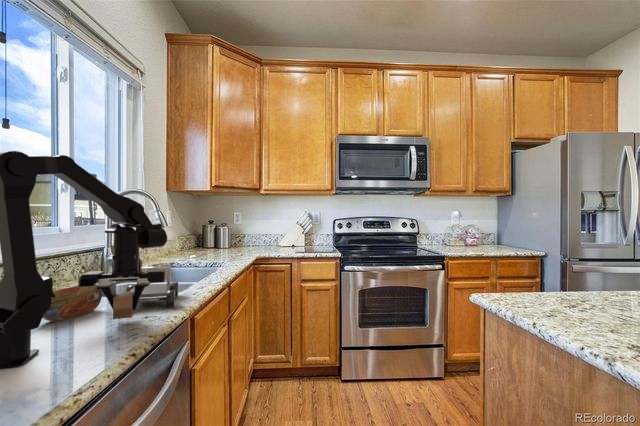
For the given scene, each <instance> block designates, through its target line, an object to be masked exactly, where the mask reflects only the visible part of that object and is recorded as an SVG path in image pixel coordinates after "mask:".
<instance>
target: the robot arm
mask: <svg viewBox="0 0 640 426" xmlns="http://www.w3.org/2000/svg"><path fill="white" fill-rule="evenodd" d="M42 175H53V176H55V177H56V178H57V179H60V180H61V181H62V182H63V183H65V184H67V186H70V187H71V188H73V189H74V190H75V191H78V192H79V193H80V194H82V195H83V196H85V197H86V198H87V199H89V200H90V201H92V202H94V203H95V204H96V205H98V206H99V207H100V208H101V210H102V211H103V213H104V215H105V216H106V217H107V218H108V219H110V220H111V221H112V222H113V223H112V224H111V225H110V226H109V227H107V228H106V229H105V231H104V233H105V234H113V246H112V247H113V250H112V251H113V252H112V253H113V254H112V259H111V260H112V263H111V269H112V272H111V273H106V274H105V271H104V270H100V271H99V270H98V271H96V270H95V271H94V270H93V271H87V272H84V273H83V274H81V275H80V276H79V277H78V283H77V285H78V286H79V287H85V286H94V285H97V286H98V287H97V289H100V290H101V293H103V294H104V296H105V297H106V298H107V301H108V303H109V304H110V307H111V309H112V310H113V298H114V296H115V295H117V282H123V281H124V282H127V281H136V285H135V291H134V300H133V310H135V309H136V310H137V306H138V304H139V303H140V302H139V299H141V298H140V296H141V294H142V292H143V290H144V288H145V287H147V286H149V285H151V284H163V283H165V282H166V281H167V270H165V269H151V270H150V271H148V272H143V271H142V267H143V260H142V259H141V258H140V249H143V250H144V249H153V248H162V247H164V246H165V245H166V243H167V241H168V235H167V232H166V230H165V229H164V228H163V224H162V223H152V221H151V220H150V218H149V217H148V215H147V213H146V212H145V207H144V206H143V205H142V203H140V202H138V201H137V200H134V199H133V198H130V197H127V196H124V195H121V194H119V193H117V192H115V190H112V189H111V188H110V187H109V186H107V185H106V184H105V183H103V182H102V181H101V180H99V179H98V178H97V177H95V176H94V175H92V174H91V173H90V172H88V171H87V169H84V168H83V167H82V166H80V165H79V164H78V163H77V162H76V161H75V160H74V159H73V157H70V156H68V155H65V154H61V155H50V156H49V155H46V156H45V155H44V156H43V155H38V156H37V155H36V156H35V155H34V156H32V155H31V156H29V155H28V154H27V153H24V152H22V151H17V150H11V151H10V150H8V151H1V152H0V253H1V261H2V269H3V275H2V278H1V280H0V369H5V368H14V367H20V366H23V365H25V363H27V362H28V361H30V360H31V359H32V358H33V357H34V356H35V355H37V354H38V353H39V352H40V350H39V348H37V349H31V348H32V347H31V346H32V345H31V344H32V342H31V340H32V330H34V329H37V328H39V327H40V324H41V322H42V320H43V315H44V313H45V312H46V311H47V310H48V309H49V308H50V307H51V304H52V298H51V297H53V298H55V295H54V293H53V290H54V289H53V286H54V285H53V283H54V280H53V278H52V277H51V276H50V277H49V276H42V275H41V274H40V272H39V270H38V266H37V257H36V256H37V255H36V250H35V249H36V248H35V239H34V233H33V232H34V230H33V222H32V215H31V206H30V197H31V196H32V193H33V191H34V189H35V186H36V184H37V183H36V182H37V176H42ZM137 282H138V283H137Z"/></svg>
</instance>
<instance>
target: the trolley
mask: <svg viewBox="0 0 640 426" xmlns="http://www.w3.org/2000/svg"><path fill="white" fill-rule="evenodd" d="M171 268H172V266H171V265H168V266H166V265H165V266H164V265H163V266H142V272H145V271H148V272H149V271H150V270H151V269H165V270H166V271H167V279H166V283H151V284H150V285H149V286H147V287H145V288H144V290H143V292H142V294H141V296H140V299H139V302H138V303H148V302H160V301H165V305H166V306H165V307H167V308H171V307H175V303H176V298H177V297H179V282H178V281H176V282H175V281H173V282H171V277H172V276H171V271H172V269H171ZM137 283H138V282H137V281H136V284H137ZM136 284H135V283H134V284H127V286H126V291H125V292H134V291H135V285H136Z"/></svg>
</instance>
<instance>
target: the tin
mask: <svg viewBox="0 0 640 426" xmlns="http://www.w3.org/2000/svg"><path fill="white" fill-rule="evenodd" d="M97 287H98V284H95V285H94V286H85V287H79V286H78V284H77V285H72V286H67V287H66V286H65V287H62V288H57V289H56V288H55V289H52V290H53V293H54V295H55V298H53V297H51V298H52V304H51V307H50V308H49V309H48V310H47V311H46V312H45V313H44V315H43V318H42V320H43V319H44V320H45V321H47V322H48V321H49V322H55V323H56V322H57V323H59V322H63V321H66V320H69V319H73V318H76V317H79V316H83V315H86V314H89V313H91V312H93V311H94V310H96V309H97V308H98V307H99V305H100V304H101V301H102V293H103V292H102V290H101V289H97Z"/></svg>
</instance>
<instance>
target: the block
mask: <svg viewBox="0 0 640 426" xmlns="http://www.w3.org/2000/svg"><path fill="white" fill-rule="evenodd" d="M133 300H134V292H126V291H122V292H118V293H116V295H115V296H114V298H113V309H112V320H119V319H120V320H121V319H130V318H133V317H134V315H135V313H136V312H137V308H136V309H135V310H133Z"/></svg>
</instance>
